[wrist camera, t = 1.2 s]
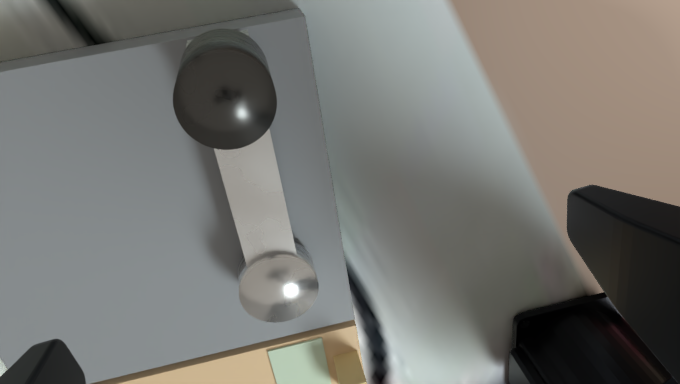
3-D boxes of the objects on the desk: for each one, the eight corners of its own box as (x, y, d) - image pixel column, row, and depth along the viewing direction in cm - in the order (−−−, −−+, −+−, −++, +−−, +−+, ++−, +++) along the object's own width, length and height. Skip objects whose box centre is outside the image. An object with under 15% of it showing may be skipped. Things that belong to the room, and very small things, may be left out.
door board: (299, 7, 20) (313, 28, 17) (365, 403, 31) (382, 460, 28) (-135, 86, 18) (-207, 124, 15) (98, 473, 29) (83, 541, 26)
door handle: (318, 291, 24) (336, 359, 20) (247, 308, 23) (251, 380, 20) (262, 13, 18) (273, 41, 14) (165, 30, 17) (151, 64, 14)
